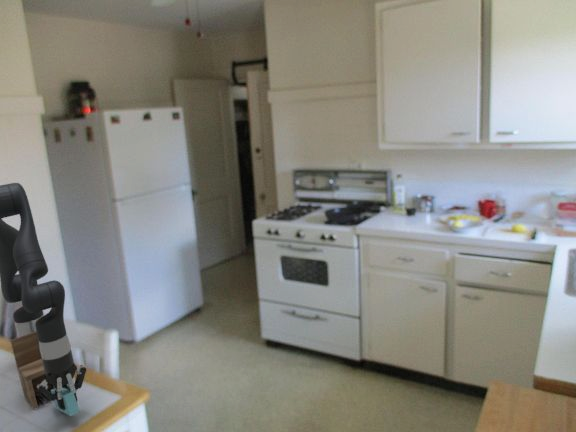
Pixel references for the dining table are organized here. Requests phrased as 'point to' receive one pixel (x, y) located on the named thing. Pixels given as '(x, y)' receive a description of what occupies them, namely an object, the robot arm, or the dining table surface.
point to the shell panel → (67, 402)
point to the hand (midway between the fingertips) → (68, 406)
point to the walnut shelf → (30, 367)
